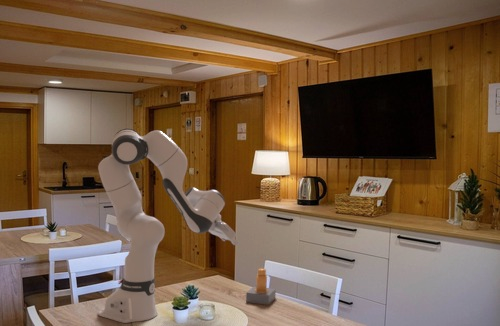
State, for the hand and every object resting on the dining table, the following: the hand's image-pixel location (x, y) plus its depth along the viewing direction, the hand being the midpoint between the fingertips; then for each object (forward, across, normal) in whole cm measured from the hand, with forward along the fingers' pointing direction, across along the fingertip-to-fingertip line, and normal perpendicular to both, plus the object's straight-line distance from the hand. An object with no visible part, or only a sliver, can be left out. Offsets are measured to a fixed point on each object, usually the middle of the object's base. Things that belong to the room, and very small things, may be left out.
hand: (230, 241), depth 190 cm
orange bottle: (+24, -5, +5) cm, 25 cm away
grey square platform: (+27, -5, +8) cm, 29 cm away
